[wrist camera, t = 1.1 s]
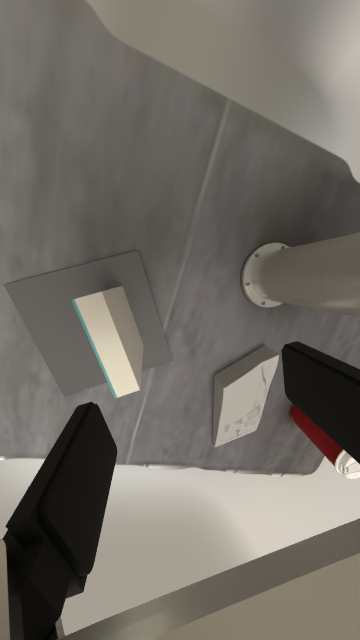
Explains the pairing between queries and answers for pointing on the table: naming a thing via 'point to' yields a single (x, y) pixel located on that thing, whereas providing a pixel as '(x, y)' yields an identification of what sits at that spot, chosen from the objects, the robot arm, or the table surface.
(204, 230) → the table surface
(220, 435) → the ramp
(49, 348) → the mat
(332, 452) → the paper cup
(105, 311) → the tile
